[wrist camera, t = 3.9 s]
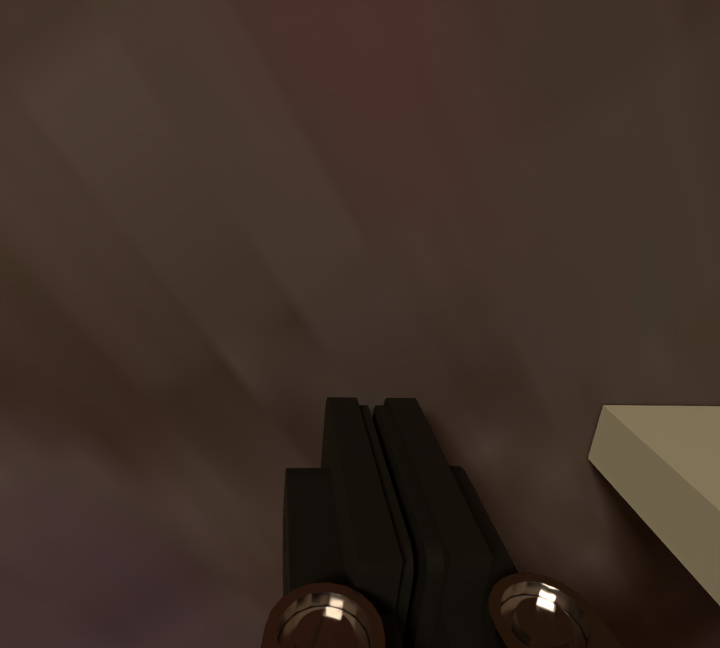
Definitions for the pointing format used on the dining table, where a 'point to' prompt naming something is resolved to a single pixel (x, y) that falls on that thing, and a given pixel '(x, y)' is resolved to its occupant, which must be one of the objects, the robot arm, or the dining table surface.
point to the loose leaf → (668, 477)
